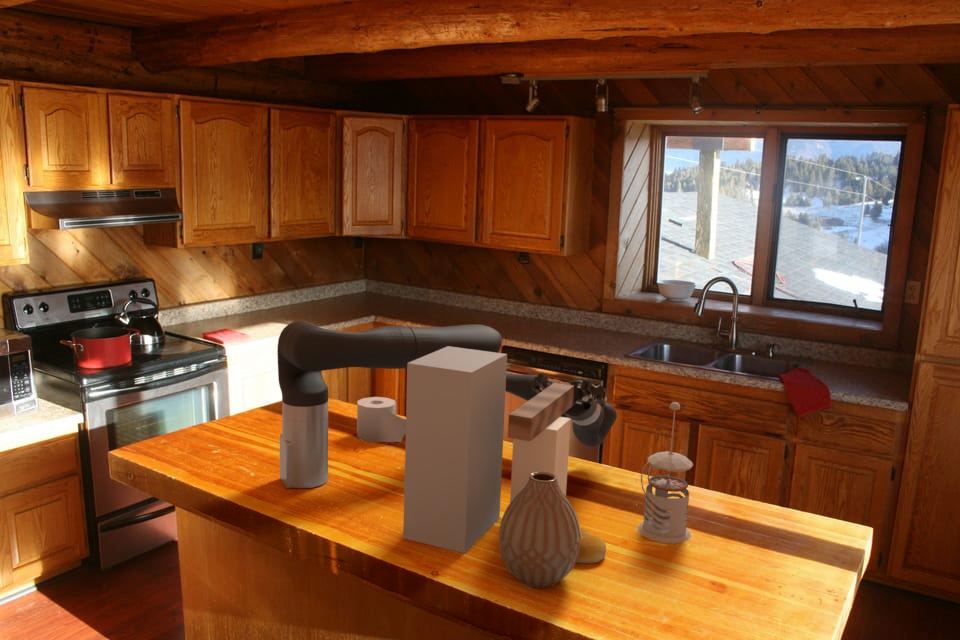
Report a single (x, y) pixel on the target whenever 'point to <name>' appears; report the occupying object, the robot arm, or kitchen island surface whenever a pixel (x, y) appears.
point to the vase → (540, 533)
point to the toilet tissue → (379, 420)
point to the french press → (666, 497)
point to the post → (542, 456)
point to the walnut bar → (540, 411)
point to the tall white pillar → (453, 446)
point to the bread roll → (590, 548)
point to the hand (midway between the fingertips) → (561, 380)
